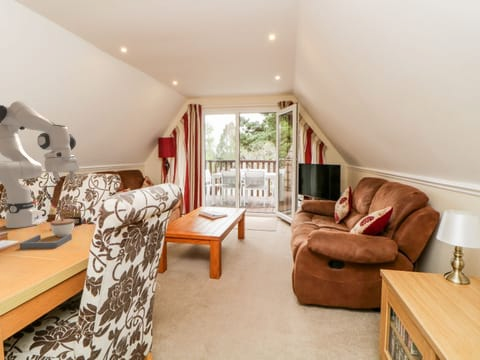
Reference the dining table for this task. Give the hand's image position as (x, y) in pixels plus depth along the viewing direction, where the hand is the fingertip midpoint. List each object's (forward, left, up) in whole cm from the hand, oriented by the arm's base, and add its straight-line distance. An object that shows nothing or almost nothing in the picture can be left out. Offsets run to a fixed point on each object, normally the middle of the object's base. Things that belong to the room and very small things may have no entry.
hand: (64, 180), depth 150 cm
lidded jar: (+5, 0, -29) cm, 30 cm away
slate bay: (+19, 0, -29) cm, 34 cm away
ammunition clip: (-16, -6, -29) cm, 34 cm away
